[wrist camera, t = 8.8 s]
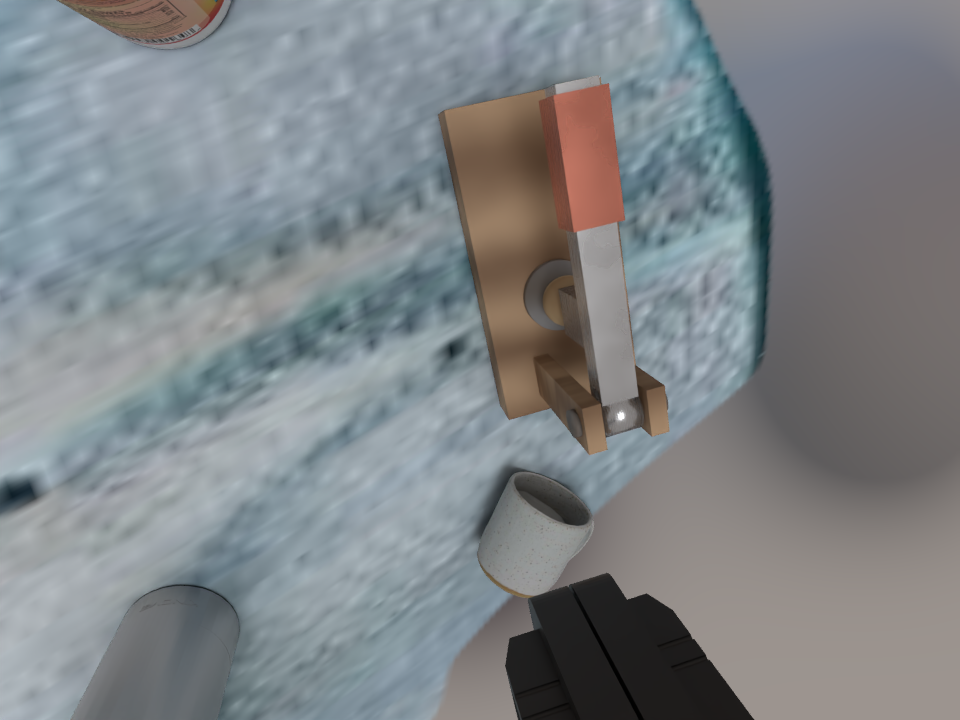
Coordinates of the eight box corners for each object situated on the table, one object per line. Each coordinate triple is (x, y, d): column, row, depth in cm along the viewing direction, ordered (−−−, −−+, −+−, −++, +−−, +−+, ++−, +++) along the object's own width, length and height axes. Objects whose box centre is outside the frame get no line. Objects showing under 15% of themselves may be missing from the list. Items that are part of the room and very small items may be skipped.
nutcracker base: (622, 371, 50) (711, 438, 38) (500, 405, 49) (550, 486, 36) (584, 83, 42) (680, 46, 30) (438, 114, 41) (474, 89, 28)
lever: (613, 399, 42) (650, 433, 37) (573, 410, 42) (606, 446, 36) (569, 87, 35) (608, 72, 30) (521, 97, 35) (552, 84, 29)
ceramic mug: (464, 539, 52) (482, 598, 45) (500, 461, 50) (526, 509, 43) (564, 564, 55) (596, 623, 48) (602, 491, 54) (641, 541, 47)
